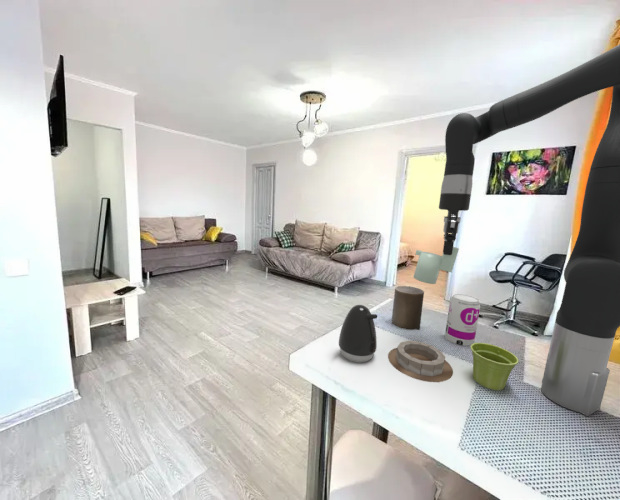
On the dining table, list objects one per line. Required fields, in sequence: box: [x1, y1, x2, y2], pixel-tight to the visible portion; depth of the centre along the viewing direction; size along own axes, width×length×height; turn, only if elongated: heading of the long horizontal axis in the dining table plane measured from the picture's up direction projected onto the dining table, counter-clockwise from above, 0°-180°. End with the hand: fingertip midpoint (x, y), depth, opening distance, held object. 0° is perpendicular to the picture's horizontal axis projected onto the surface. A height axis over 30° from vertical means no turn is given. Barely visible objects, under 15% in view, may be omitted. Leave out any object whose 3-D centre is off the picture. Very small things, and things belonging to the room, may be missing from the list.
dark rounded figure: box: [338, 304, 378, 363], centre depth 72 cm, size 10×10×15 cm
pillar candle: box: [391, 285, 425, 331], centre depth 94 cm, size 10×10×15 cm
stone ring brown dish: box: [387, 340, 454, 383], centre depth 71 cm, size 16×16×4 cm
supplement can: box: [444, 293, 481, 347], centre depth 84 cm, size 8×8×15 cm
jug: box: [413, 246, 460, 285], centre depth 79 cm, size 11×6×12 cm, turn 65°
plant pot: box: [470, 342, 519, 391], centre depth 64 cm, size 9×9×9 cm
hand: (447, 253), depth 77 cm, fingers closed on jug, 2 cm apart
